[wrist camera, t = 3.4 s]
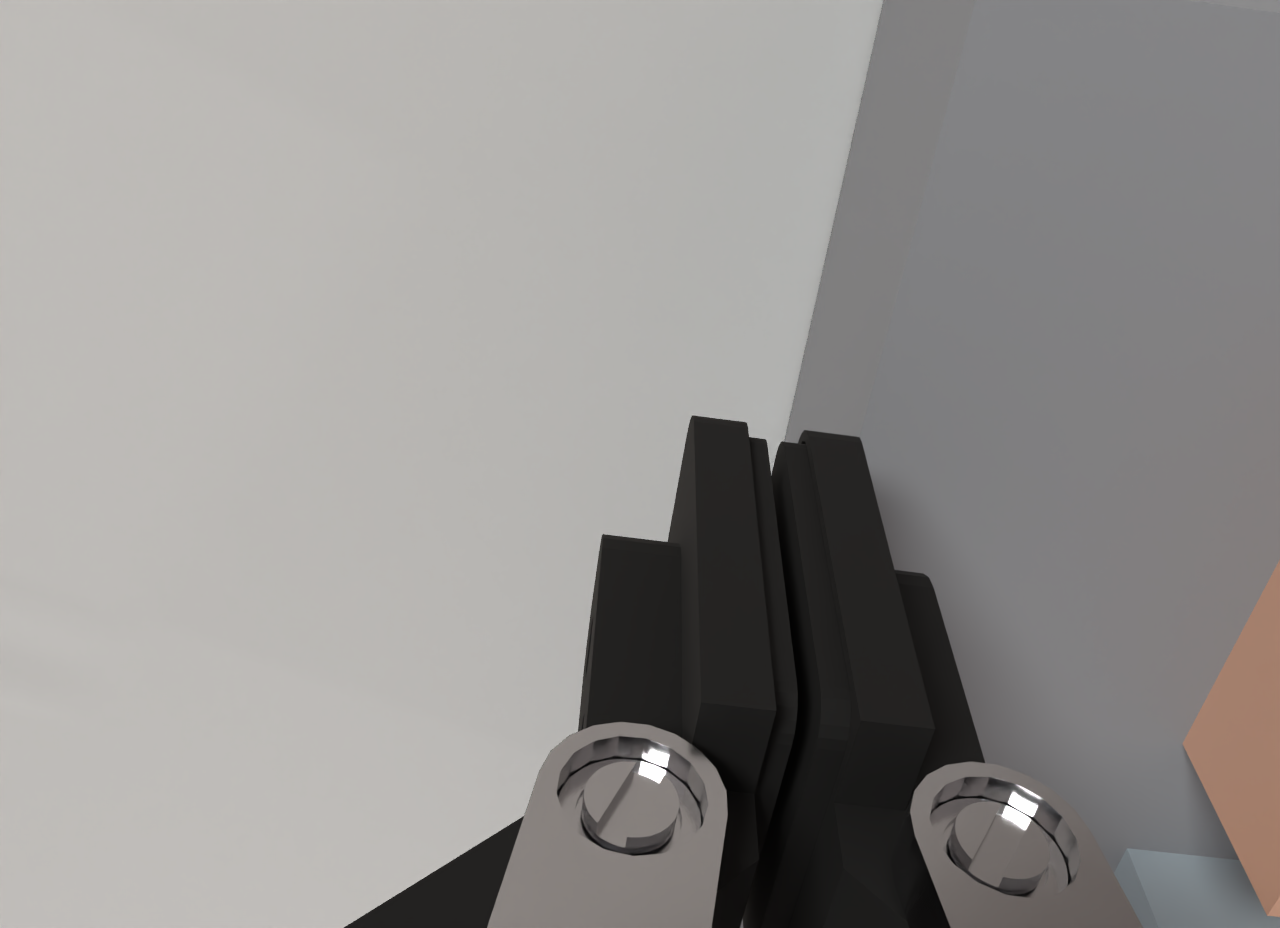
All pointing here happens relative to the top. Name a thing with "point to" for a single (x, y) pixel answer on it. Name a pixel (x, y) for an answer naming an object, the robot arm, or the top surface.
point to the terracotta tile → (1247, 746)
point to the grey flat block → (1069, 369)
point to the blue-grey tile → (1190, 891)
